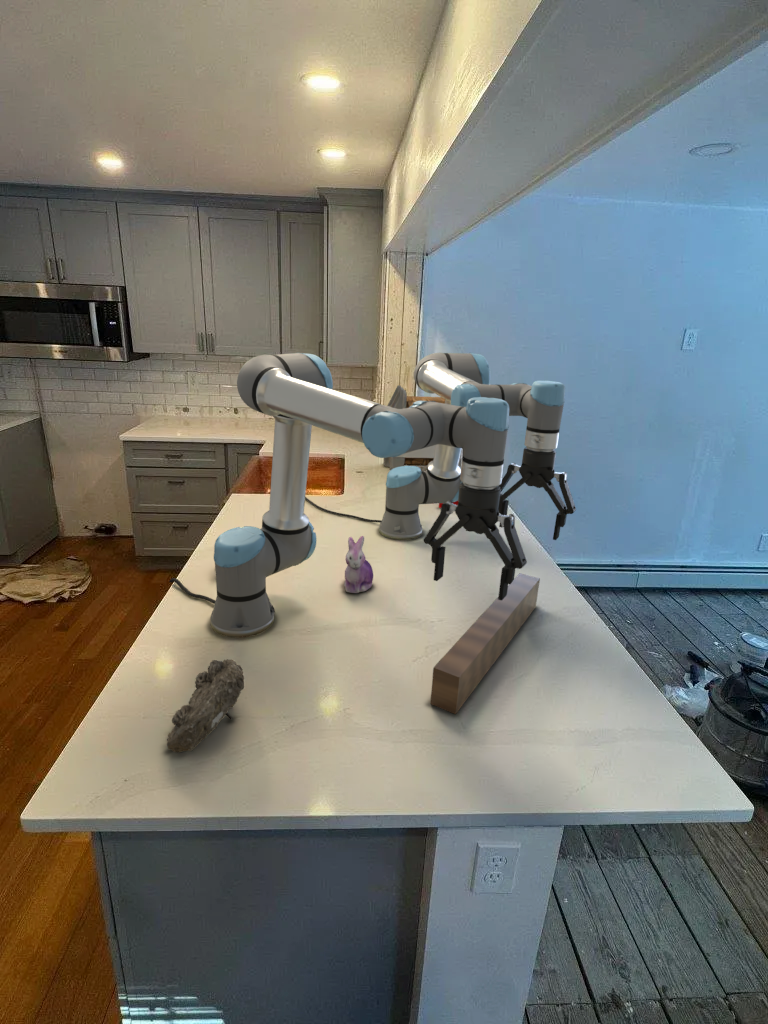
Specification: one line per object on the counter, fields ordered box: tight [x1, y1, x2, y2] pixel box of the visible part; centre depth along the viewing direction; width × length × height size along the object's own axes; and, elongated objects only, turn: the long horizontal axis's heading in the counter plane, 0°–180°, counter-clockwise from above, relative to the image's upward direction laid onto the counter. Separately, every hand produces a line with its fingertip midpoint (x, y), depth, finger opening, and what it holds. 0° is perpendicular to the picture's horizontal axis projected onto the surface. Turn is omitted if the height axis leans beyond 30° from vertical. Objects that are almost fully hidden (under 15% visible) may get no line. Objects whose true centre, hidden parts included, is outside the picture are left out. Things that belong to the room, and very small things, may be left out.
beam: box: [429, 572, 541, 715], centre depth 133 cm, size 52×6×9 cm, turn 149°
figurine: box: [343, 535, 374, 594], centre depth 158 cm, size 9×10×15 cm
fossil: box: [166, 658, 245, 754], centre depth 106 cm, size 22×10×15 cm
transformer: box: [383, 384, 463, 471], centre depth 268 cm, size 34×33×41 cm
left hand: (469, 587), depth 111 cm, fingers open, 13 cm apart
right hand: (528, 532), depth 141 cm, fingers open, 13 cm apart
